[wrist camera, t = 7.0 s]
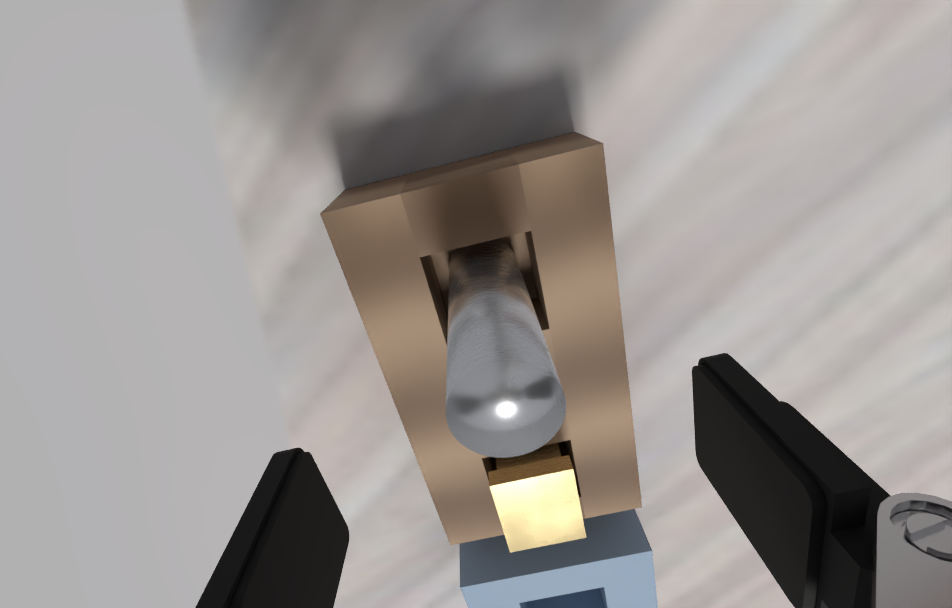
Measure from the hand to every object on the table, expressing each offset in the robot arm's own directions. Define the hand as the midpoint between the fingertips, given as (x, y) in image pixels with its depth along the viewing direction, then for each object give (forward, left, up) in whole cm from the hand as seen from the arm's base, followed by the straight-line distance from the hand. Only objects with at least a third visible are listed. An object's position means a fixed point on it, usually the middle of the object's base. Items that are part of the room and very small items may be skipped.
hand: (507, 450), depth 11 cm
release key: (+9, 0, -10) cm, 14 cm away
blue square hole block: (+19, 0, -12) cm, 23 cm away
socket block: (+4, 0, -12) cm, 12 cm away
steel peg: (-1, 0, -11) cm, 11 cm away
